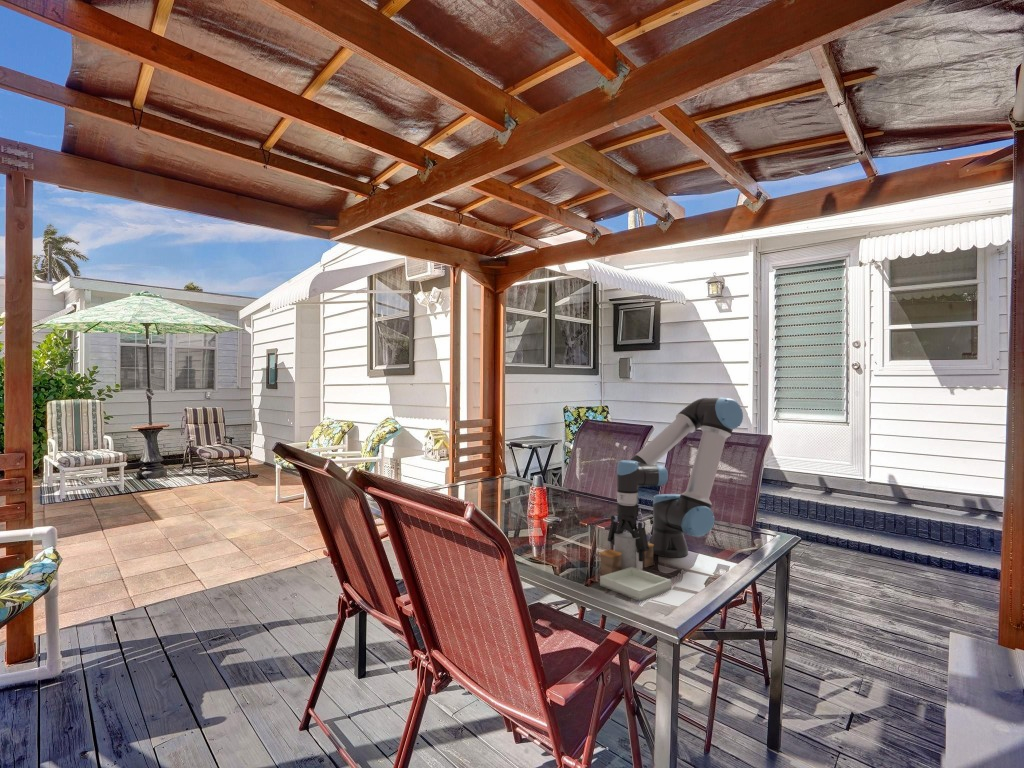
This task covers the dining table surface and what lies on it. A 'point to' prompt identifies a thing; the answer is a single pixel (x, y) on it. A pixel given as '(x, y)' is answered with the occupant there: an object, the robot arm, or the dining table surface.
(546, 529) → the dining table surface
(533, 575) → the dining table surface
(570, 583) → the dining table surface
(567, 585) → the dining table surface
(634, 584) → the tray
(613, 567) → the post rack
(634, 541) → the grey cylinder
